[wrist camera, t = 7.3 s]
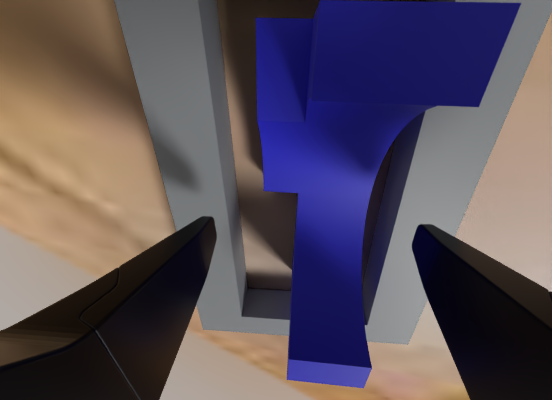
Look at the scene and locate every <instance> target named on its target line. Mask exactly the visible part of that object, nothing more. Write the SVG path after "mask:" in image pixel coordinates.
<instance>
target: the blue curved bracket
mask: <svg viewBox="0 0 552 400" xmlns="http://www.w3.org/2000/svg"><path fill="white" fill-rule="evenodd" d="M520 5H521V3H497V2H421V1H345V0H320V2H319V4H318V7H317V10H316V13H315V15H314V18H313V19H303V18H256V73H257V122H258V126H259V131H260V138H261V146H262V157H263V176H264V191H271V192H287V193H298V198H297V211H296V224H295V238H294V251H293V264H292V282H291V303H290V324H289V346H288V367H287V380H294V381H303V382H312V383H322V384H331V385H340V386H349V387H358V388H364V386H365V384H366V381H367V379H368V376H369V374H370V371H371V369H372V366H371V361H370V356H369V351H368V345H367V339H366V332H365V324H364V315H363V302H362V247H363V236H364V227H365V220H366V214H367V209H368V204H369V200H370V196H371V192H372V188H373V185H374V182H375V179H376V176H377V173H378V170H379V168H380V165H381V163H382V161H383V159H384V157H385V155H386V153H387V151H388V149H389V147H390V146H391V144H392V142H393V141H394V139H395V138H396V137H397V135H398V134H399V133H400V132H401V130H402V129H403V128H404V127H405V126H406V125H407V124H408V123H409V122H410V121H411V120H412V119H414V118H415V117H416V116H417V115H419V114H421V113H422V112H424V111H426V110H428V109H430V108H433V107H436V106H459V107H479V105H480V103H481V101H482V98H483V96H484V93H485V91H486V88H487V86H488V84H489V81H490V79H491V76H492V74H493V71H494V69H495V66H496V64H497V62H498V59H499V57H500V54H501V52H502V49H503V47H504V44H505V42H506V40H507V37H508V35H509V32H510V30H511V27H512V25H513V23H514V20H515V18H516V15H517V13H518V10H519V8H520Z"/></svg>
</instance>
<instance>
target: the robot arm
mask: <svg viewBox="0 0 552 400" xmlns="http://www.w3.org/2000/svg"><path fill="white" fill-rule="evenodd" d="M216 240H217V232H216V227H215V221H214V218H213V217H212V216H201V217H200V218H198V219H196V220H195V221H193V222H191V223H190V224H188V225H186V226H185V227H183V228H182V229H180V230H178V231H177V232H175V233H173V234H172V235H170V236H168V237H167V238H165V239H164V240H162V241H160V242H159V243H157V244H155V245H154V246H152V247H150V248H149V249H147V250H145V251H144V252H142V253H141V254H139V255H137V256H136V257H134V258H132V259H131V260H129V261H127V262H126V263H124V264H123V265H121V266H120V267H119V268H116V269H114V270H113V271H111V272H109V273H108V274H106V275H104V276H103V277H101V278H99V279H98V280H96V281H94V282H92V283H91V284H89V285H87V286H86V287H84V288H82V289H80V290H78V291H76V292H75V293H73V294H71V295H69V296H67V297H65V298H64V299H61V300H60V301H58V302H56V303H54V304H52V305H50V306H48V307H46V308H45V309H43V310H41V311H39V312H37V313H36V314H33V315H31V316H30V317H28V318H26V319H24V320H22V321H20V322H18V323H16V324H14V325H13V326H11V327H8V328H6V329H4V330H1V331H0V400H159V399H160V396H161V394H162V391H163V389H164V386H165V384H166V381H167V378H168V376H169V373H170V370H171V368H172V365H173V363H174V360H175V358H176V355H177V353H178V350H179V348H180V345H181V342H182V340H183V337H184V335H185V332H186V330H187V327H188V325H189V322H190V319H191V317H192V314H193V312H194V309H195V307H196V304H197V301H198V299H199V296H200V294H201V291H202V289H203V286H204V283H205V281H206V278H207V275H208V271H209V268H210V264H211V260H212V256H213V252H214V248H215V244H216ZM412 251H413V254H414V258H415V261H416V265H417V268H418V272H419V275H420V278H421V282H422V285H423V288H424V291H425V293H426V296H427V298H428V300H429V303H430V305H431V308H432V310H433V312H434V315H435V317H436V319H437V322H438V324H439V326H440V329H441V331H442V334H443V336H444V338H445V341H446V343H447V345H448V348H449V350H450V353H451V355H452V357H453V360H454V362H455V364H456V367H457V369H458V372H459V374H460V376H461V379H462V381H463V383H464V386H465V388H466V390H467V393H468V395H469V398H470V400H552V292H549V291H548V289H546V288H544V287H542V286H541V285H539V284H537V283H535V282H534V281H532V280H530V279H528V278H526V277H525V276H523V275H521V274H519V273H518V272H516V271H514V270H512V269H510V268H509V267H507V266H505V265H503V264H502V263H500V262H498V261H496V260H495V259H493V258H491V257H489V256H487V255H486V254H484V253H482V252H480V251H479V250H477V249H475V248H473V247H472V246H470V245H468V244H466V243H464V242H463V241H461V240H459V239H457V238H456V237H454V236H452V235H450V234H448V233H447V232H445V231H443V230H441V229H440V228H438V227H436V226H434V225H432V224H419V225H418V226H417V229H416V232H415V235H414V238H413V241H412Z"/></svg>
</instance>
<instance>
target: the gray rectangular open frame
mask: <svg viewBox="0 0 552 400" xmlns="http://www.w3.org/2000/svg"><path fill="white" fill-rule="evenodd" d="M114 2H115V5H116V9H117V13H118V16H119V20H120V24H121V27H122V31H123V35H124V39H125V42H126V46H127V50H128V53H129V57H130V61H131V64H132V68H133V72H134V76H135V79H136V83H137V87H138V90H139V94H140V98H141V101H142V105H143V109H144V112H145V116H146V120H147V124H148V127H149V131H150V135H151V138H152V142H153V146H154V149H155V153H156V157H157V161H158V164H159V168H160V172H161V175H162V179H163V183H164V186H165V190H166V194H167V198H168V201H169V205H170V209H171V212H172V216H173V220H174V223H175V227H176V231H178V230H180V229H182V228H183V227H185V226H186V225H188V224H190V223H191V222H193V221H195V220H196V219H198V218H200V217H201V216H212V217H213V218H214V221H215V227H216V232H217V240H216V244H215V248H214V252H213V256H212V260H211V264H210V268H209V271H208V275H207V278H206V281H205V283H204V286H203V289H202V291H201V294H200V296H199V299H198V301H197V304H196V305H197V309H198V312H199V316H200V320H201V323H202V327H203V329H204V330H218V331H231V332H245V333H258V334H272V335H285V336H289V324H290V303H291V291H282V290H265V289H248V285H247V276H246V267H245V257H244V248H243V239H242V229H241V220H240V211H239V202H238V192H237V183H236V174H235V164H234V155H233V146H232V137H231V127H230V118H229V109H228V99H227V90H226V81H225V71H224V62H223V53H222V44H221V34H220V25H219V16H218V6H217V0H114ZM426 2H497V3H521V5H520V8H519V10H518V13H517V15H516V18H515V20H514V23H513V25H512V27H511V30H510V32H509V35H508V37H507V40H506V42H505V44H504V47H503V49H502V52H501V54H500V57H499V59H498V62H497V64H496V66H495V69H494V71H493V74H492V76H491V79H490V81H489V84H488V86H487V88H486V91H485V93H484V96H483V98H482V101H481V103H480V105H479V107H459V106H436V107H433V108H430V109H428V110H426V111H424V112H422V113H421V114H419V115H417V116H416V117H415V118H414V119H412V120H411V121H410V122H409V123H408V124H407V125H406V126H405V127H404V128H403V129H402V130H401V132H400V133H399V134H398V135H397V137H396V139H395V143H394V148H393V152H392V157H391V161H390V166H389V170H388V174H387V179H386V183H385V188H384V192H383V197H382V201H381V205H380V210H379V214H378V219H377V223H376V228H375V232H374V237H373V241H372V245H371V250H370V254H369V259H368V263H367V268H366V272H365V277H364V281H363V285H362V302H363V315H364V324H365V332H366V339H367V342H380V343H394V344H407V345H408V344H409V341H410V339H411V337H412V335H413V332H414V330H415V328H416V325H417V323H418V321H419V318H420V316H421V314H422V311H423V309H424V307H425V304H426V302H427V300H428V298H427V296H426V293H425V291H424V288H423V285H422V282H421V278H420V275H419V272H418V268H417V265H416V261H415V258H414V254H413V251H412V241H413V238H414V235H415V232H416V229H417V226H418V225H419V224H432V225H434V226H436V227H438V228H440V229H441V230H443V231H445V232H447V233H448V234H450V235H452V236H454V237H455V235H456V232H457V230H458V228H459V225H460V223H461V221H462V218H463V216H464V214H465V212H466V209H467V207H468V205H469V202H470V200H471V198H472V195H473V193H474V191H475V188H476V186H477V184H478V181H479V179H480V177H481V174H482V172H483V170H484V167H485V165H486V163H487V160H488V158H489V156H490V154H491V151H492V149H493V147H494V144H495V142H496V140H497V137H498V135H499V133H500V130H501V128H502V126H503V123H504V121H505V119H506V116H507V114H508V112H509V109H510V107H511V105H512V102H513V100H514V98H515V96H516V93H517V91H518V89H519V86H520V84H521V82H522V79H523V77H524V75H525V72H526V70H527V68H528V65H529V63H530V61H531V58H532V56H533V54H534V51H535V49H536V47H537V44H538V42H539V40H540V37H541V35H542V33H543V31H544V28H545V26H546V24H547V21H548V19H549V17H550V14H551V12H552V0H427V1H426Z"/></svg>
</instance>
